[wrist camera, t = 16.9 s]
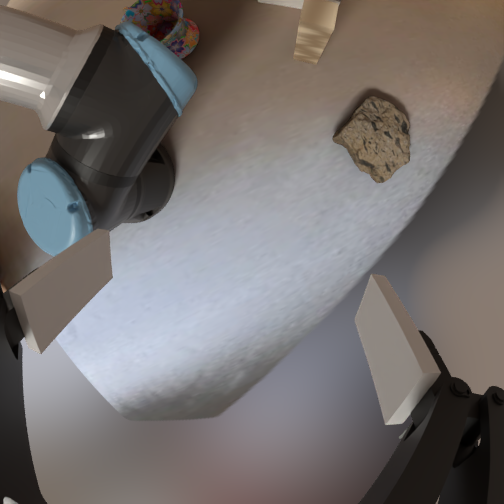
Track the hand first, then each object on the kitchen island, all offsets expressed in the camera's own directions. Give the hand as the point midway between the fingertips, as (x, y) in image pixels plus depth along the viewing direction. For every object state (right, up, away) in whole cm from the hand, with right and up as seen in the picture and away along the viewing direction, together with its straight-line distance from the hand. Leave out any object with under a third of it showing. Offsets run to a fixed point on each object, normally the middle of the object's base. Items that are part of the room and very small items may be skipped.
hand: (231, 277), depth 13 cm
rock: (+20, +19, +26) cm, 38 cm away
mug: (-12, +36, +22) cm, 44 cm away
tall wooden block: (+9, +31, +21) cm, 39 cm away
